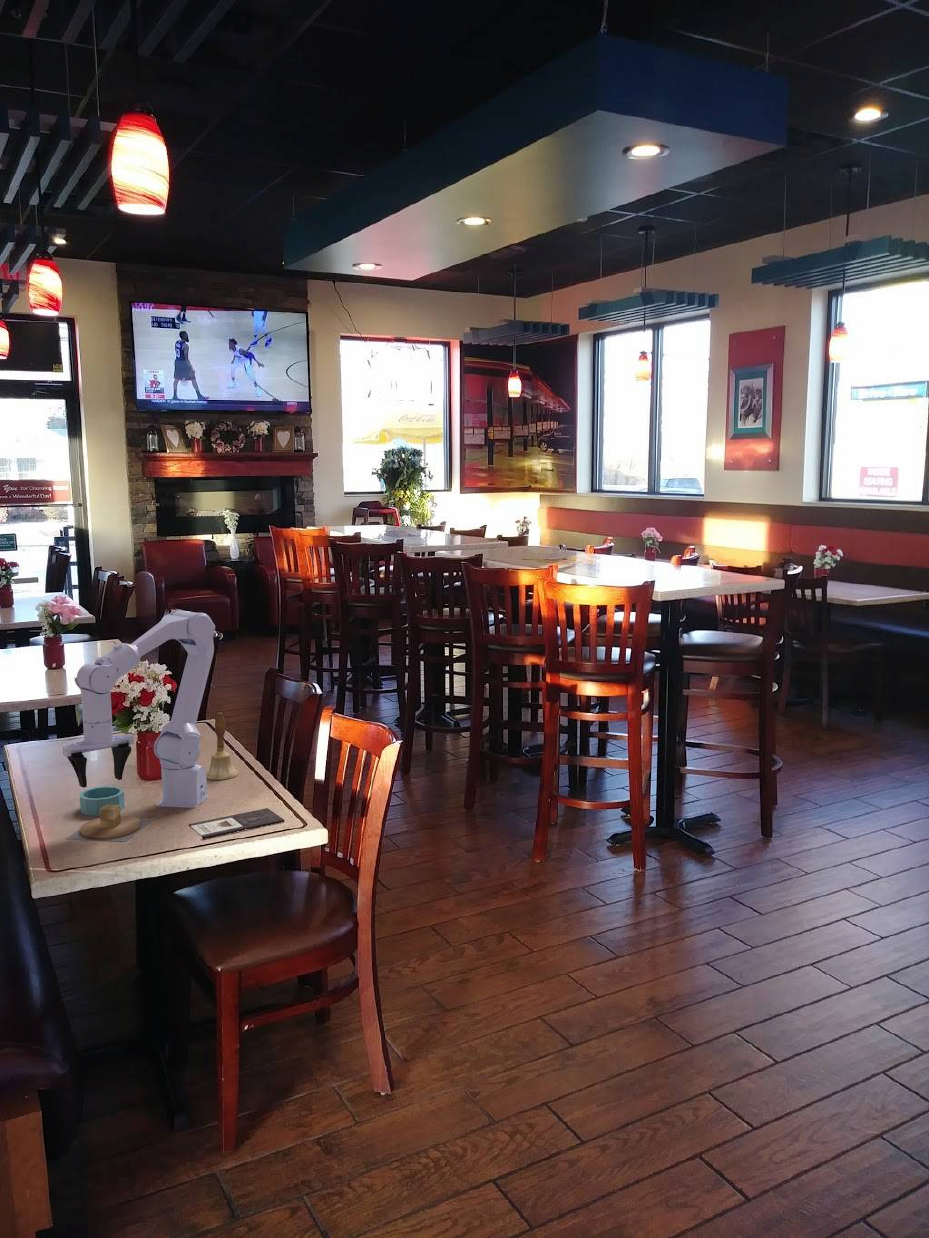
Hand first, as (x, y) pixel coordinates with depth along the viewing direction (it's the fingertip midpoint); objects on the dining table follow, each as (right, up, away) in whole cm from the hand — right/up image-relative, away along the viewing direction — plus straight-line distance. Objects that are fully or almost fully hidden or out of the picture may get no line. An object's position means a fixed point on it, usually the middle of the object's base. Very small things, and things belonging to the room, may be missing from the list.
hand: (100, 782), depth 208 cm
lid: (+3, -10, -2) cm, 10 cm away
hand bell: (+17, -5, +37) cm, 40 cm away
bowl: (-4, -8, +11) cm, 14 cm away
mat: (+3, -10, -2) cm, 10 cm away
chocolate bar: (+28, -10, +2) cm, 30 cm away
